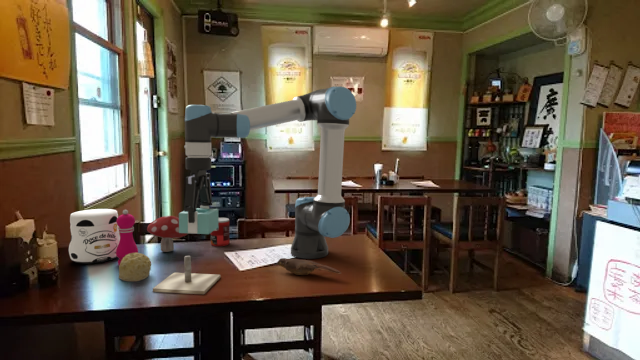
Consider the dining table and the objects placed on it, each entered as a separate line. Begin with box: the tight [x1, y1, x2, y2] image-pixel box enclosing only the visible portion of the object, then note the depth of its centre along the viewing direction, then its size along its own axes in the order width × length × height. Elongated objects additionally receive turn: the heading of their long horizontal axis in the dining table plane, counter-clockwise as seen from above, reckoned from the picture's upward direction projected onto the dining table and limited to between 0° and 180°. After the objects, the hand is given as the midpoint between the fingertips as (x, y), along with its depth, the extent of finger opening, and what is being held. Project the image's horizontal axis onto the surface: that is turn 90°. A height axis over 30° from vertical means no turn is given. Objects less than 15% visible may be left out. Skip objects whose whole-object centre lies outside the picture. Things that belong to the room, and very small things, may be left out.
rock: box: [118, 252, 152, 282], centre depth 130 cm, size 10×11×10 cm
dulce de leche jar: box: [68, 208, 120, 265], centre depth 147 cm, size 17×17×18 cm
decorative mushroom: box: [146, 215, 189, 253], centre depth 158 cm, size 16×16×15 cm
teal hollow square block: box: [178, 207, 219, 235], centre depth 122 cm, size 9×9×6 cm
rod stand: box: [152, 255, 221, 295], centre depth 124 cm, size 16×14×9 cm
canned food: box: [209, 217, 231, 247], centre depth 170 cm, size 8×8×11 cm
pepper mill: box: [116, 209, 139, 266], centre depth 142 cm, size 7×7×20 cm
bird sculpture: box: [272, 257, 342, 276], centre depth 134 cm, size 7×25×5 cm, turn 71°
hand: (199, 229), depth 122 cm, fingers closed on teal hollow square block, 9 cm apart
